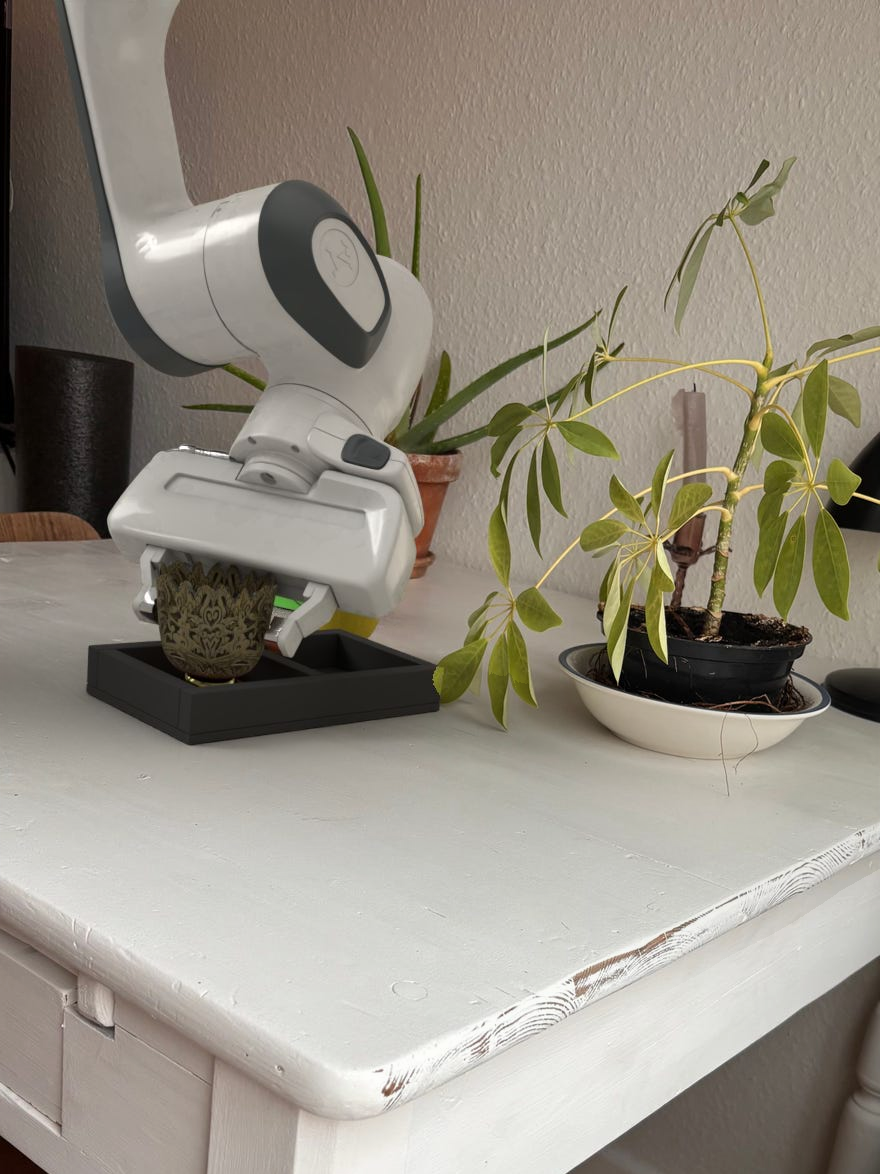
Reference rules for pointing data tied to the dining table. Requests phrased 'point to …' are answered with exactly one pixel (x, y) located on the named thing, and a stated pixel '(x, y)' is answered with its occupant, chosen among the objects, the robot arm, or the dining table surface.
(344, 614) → the lemon
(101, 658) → the tray
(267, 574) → the cup
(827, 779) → the dining table surface
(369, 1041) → the dining table surface
